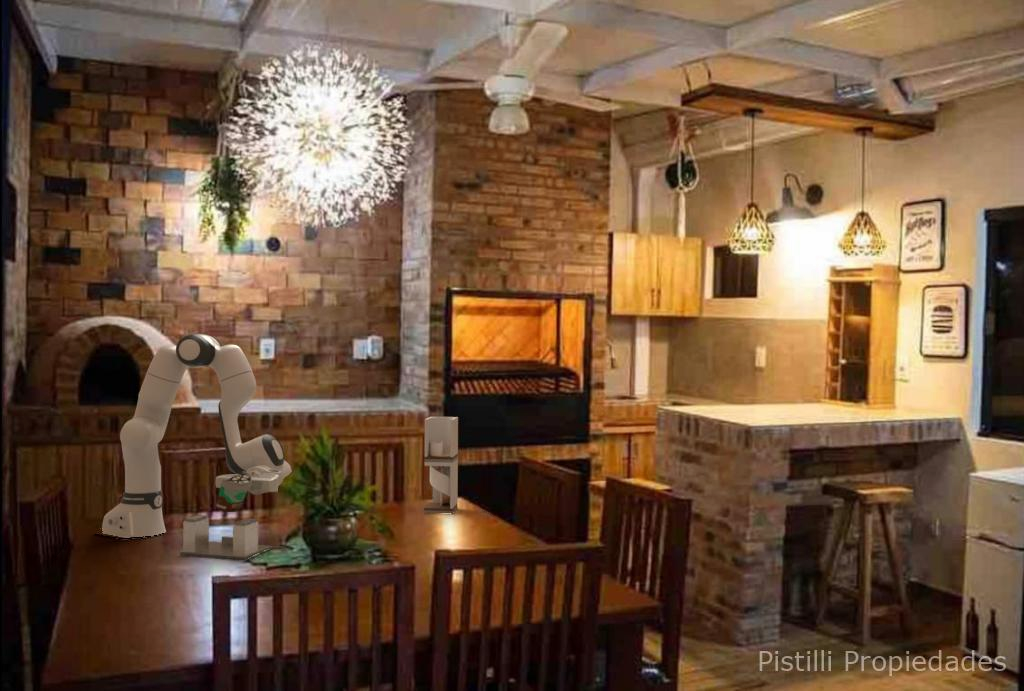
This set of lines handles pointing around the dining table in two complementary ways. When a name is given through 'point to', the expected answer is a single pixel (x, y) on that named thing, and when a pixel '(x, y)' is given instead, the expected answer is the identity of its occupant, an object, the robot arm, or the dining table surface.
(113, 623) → the dining table surface
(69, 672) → the dining table surface
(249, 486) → the food container
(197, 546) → the rail
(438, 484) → the white tiered stand
